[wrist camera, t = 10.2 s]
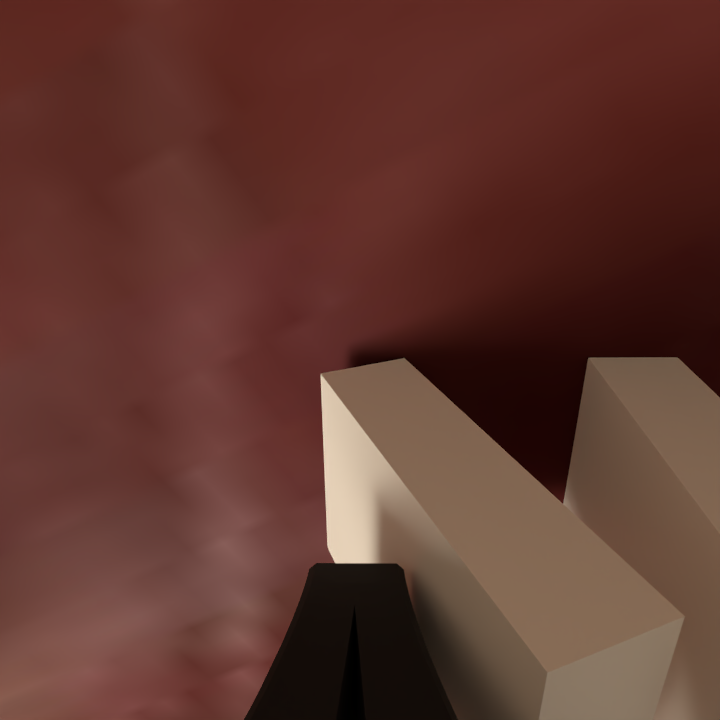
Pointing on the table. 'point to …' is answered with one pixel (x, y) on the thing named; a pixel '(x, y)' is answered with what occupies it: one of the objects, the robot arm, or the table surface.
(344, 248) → the table surface
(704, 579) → the domino
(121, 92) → the table surface
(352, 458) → the domino
